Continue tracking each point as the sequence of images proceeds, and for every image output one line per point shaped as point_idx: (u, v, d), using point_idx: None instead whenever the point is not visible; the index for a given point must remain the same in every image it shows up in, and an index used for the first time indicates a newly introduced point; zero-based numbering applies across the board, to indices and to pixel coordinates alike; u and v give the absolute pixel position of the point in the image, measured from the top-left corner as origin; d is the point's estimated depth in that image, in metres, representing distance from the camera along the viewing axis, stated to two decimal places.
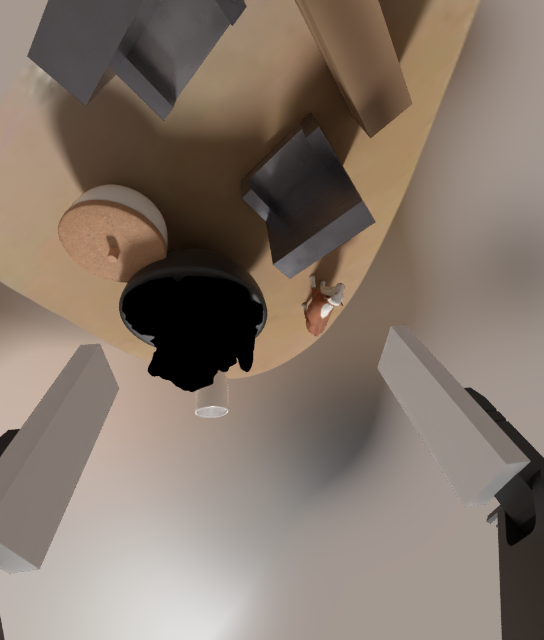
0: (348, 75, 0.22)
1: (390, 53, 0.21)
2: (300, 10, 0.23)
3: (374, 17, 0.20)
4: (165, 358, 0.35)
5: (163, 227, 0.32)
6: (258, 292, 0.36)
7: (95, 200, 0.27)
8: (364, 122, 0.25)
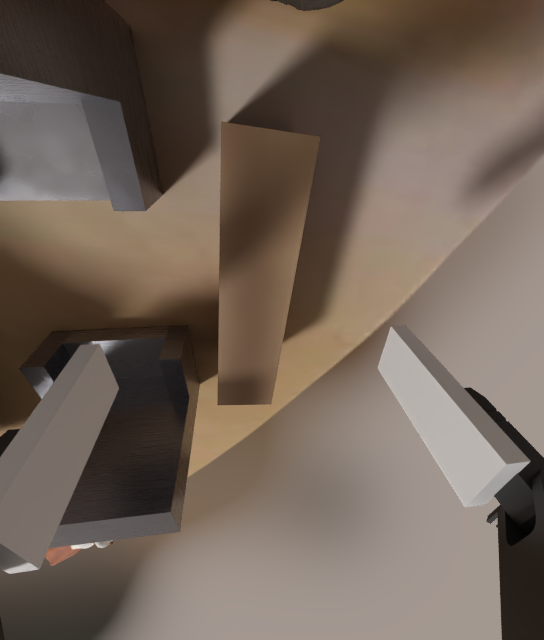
0: (225, 347, 0.17)
1: (274, 359, 0.18)
2: None
3: (276, 327, 0.16)
4: None
5: None
6: None
7: None
8: (219, 390, 0.19)
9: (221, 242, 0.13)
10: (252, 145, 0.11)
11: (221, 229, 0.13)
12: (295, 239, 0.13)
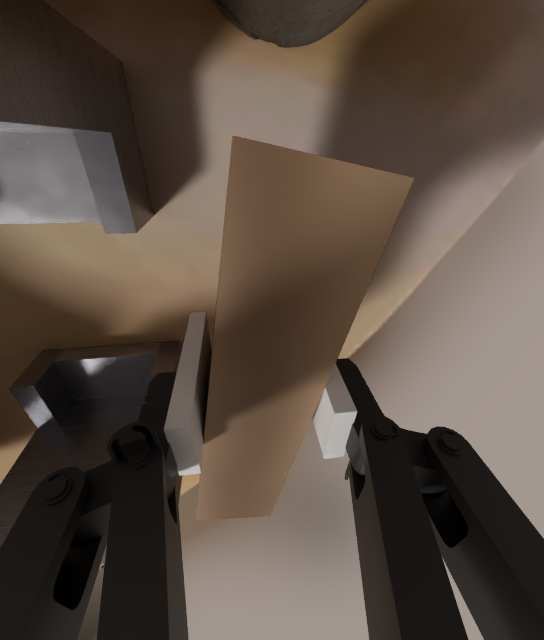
0: (213, 461, 0.11)
1: (282, 472, 0.13)
2: (216, 302, 0.13)
3: (290, 438, 0.11)
4: None
5: None
6: None
7: None
8: (199, 506, 0.13)
9: (217, 334, 0.08)
10: (289, 184, 0.06)
11: (218, 315, 0.07)
12: (339, 331, 0.08)
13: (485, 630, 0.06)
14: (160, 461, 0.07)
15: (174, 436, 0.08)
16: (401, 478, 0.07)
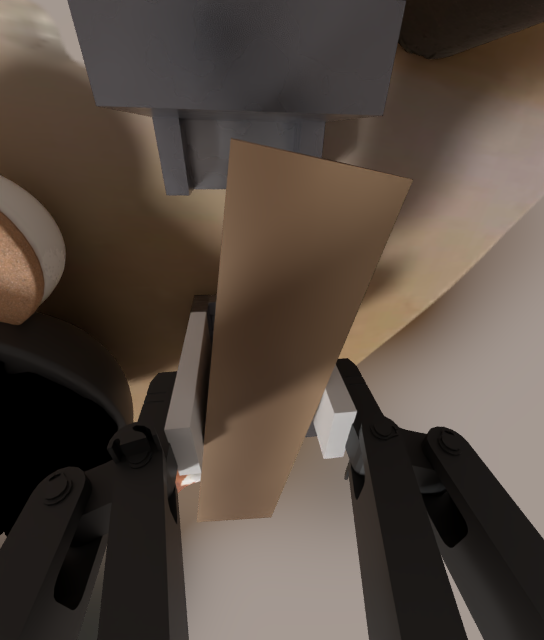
0: (213, 463, 0.11)
1: (282, 473, 0.12)
2: None
3: (290, 440, 0.11)
4: None
5: (54, 283, 0.20)
6: None
7: None
8: (200, 508, 0.13)
9: (216, 337, 0.08)
10: (286, 186, 0.06)
11: (217, 318, 0.07)
12: (338, 334, 0.08)
13: (485, 630, 0.06)
14: (160, 461, 0.07)
15: (174, 436, 0.08)
16: (400, 477, 0.07)
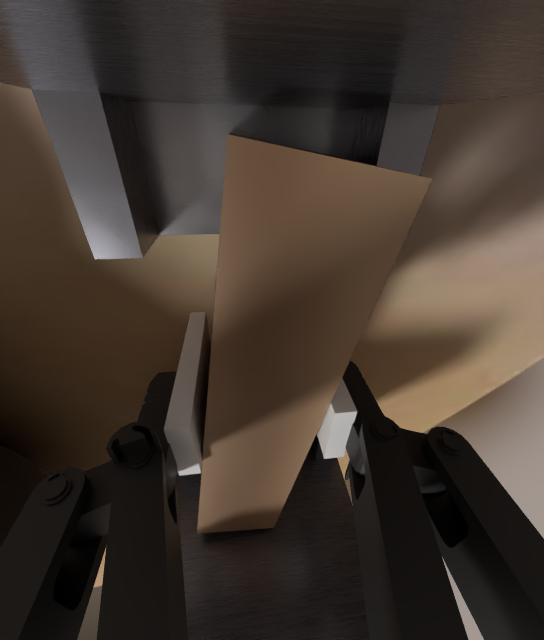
0: (213, 477, 0.11)
1: (285, 486, 0.12)
2: None
3: (294, 453, 0.10)
4: None
5: None
6: None
7: None
8: (200, 520, 0.13)
9: (214, 350, 0.07)
10: (291, 187, 0.05)
11: (215, 331, 0.07)
12: (346, 345, 0.08)
13: (485, 630, 0.06)
14: (160, 461, 0.07)
15: (174, 436, 0.08)
16: (401, 478, 0.07)
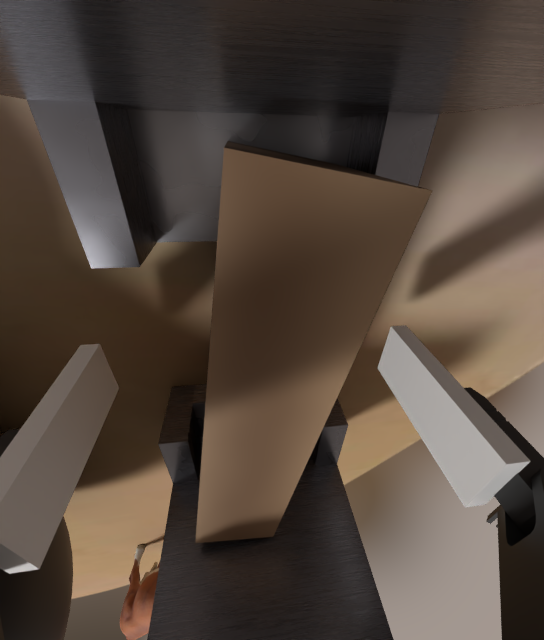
0: (211, 487, 0.11)
1: (285, 495, 0.12)
2: None
3: (293, 463, 0.10)
4: None
5: None
6: None
7: None
8: (198, 530, 0.13)
9: (211, 361, 0.07)
10: (289, 200, 0.05)
11: (212, 343, 0.07)
12: (345, 356, 0.07)
13: None
14: None
15: None
16: None
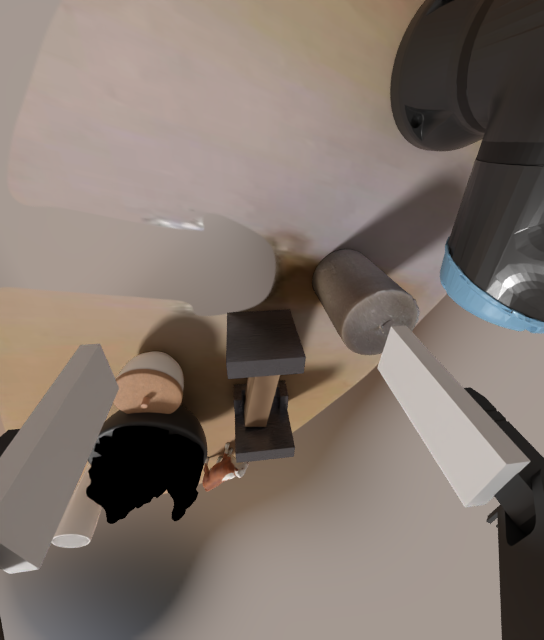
0: (251, 407, 0.48)
1: (268, 410, 0.49)
2: None
3: (269, 401, 0.47)
4: (115, 487, 0.42)
5: None
6: (206, 456, 0.51)
7: (166, 374, 0.42)
8: (246, 421, 0.50)
9: (254, 380, 0.44)
10: None
11: (255, 377, 0.44)
12: (277, 379, 0.44)
13: None
14: None
15: None
16: None
